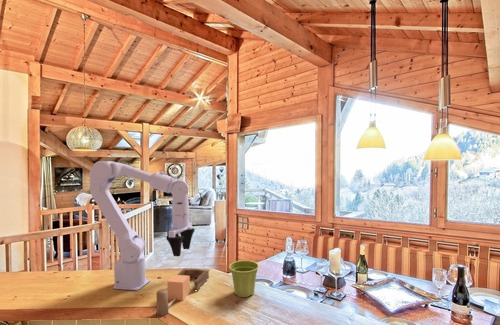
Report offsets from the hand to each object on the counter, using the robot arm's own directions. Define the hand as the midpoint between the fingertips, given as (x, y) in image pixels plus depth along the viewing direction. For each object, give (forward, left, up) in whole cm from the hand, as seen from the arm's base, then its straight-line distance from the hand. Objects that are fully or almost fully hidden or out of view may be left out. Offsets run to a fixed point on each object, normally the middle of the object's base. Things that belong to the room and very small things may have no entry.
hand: (181, 252), depth 99 cm
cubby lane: (+4, -3, -10) cm, 11 cm away
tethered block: (+4, -15, -10) cm, 19 cm away
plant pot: (+24, -6, -10) cm, 27 cm away
